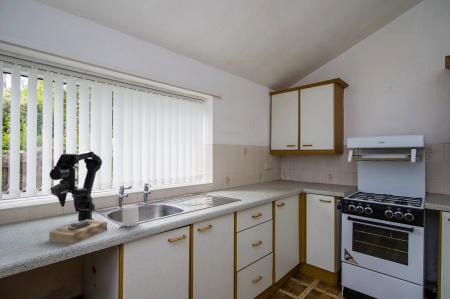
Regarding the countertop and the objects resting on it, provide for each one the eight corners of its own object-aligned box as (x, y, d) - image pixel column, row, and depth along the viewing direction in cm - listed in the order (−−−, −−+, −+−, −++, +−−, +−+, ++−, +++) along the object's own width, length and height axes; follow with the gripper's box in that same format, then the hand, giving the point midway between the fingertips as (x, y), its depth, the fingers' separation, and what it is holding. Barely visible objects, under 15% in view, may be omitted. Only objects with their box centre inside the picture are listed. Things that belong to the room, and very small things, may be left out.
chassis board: (86, 226, 130) (86, 219, 130) (107, 229, 125) (106, 221, 125) (49, 240, 111) (49, 231, 111) (71, 243, 106) (71, 234, 106)
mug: (118, 223, 136) (117, 205, 136) (132, 220, 141) (132, 202, 141) (125, 228, 127) (125, 209, 127) (140, 224, 132) (140, 206, 132)
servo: (85, 230, 123) (85, 217, 123) (91, 231, 122) (91, 218, 122) (67, 237, 114) (67, 223, 114) (73, 238, 112) (73, 224, 112)
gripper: (40, 178, 119) (40, 209, 119) (67, 180, 113) (67, 212, 113) (61, 176, 130) (61, 204, 130) (87, 177, 124) (87, 207, 124)
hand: (69, 207), depth 124 cm, fingers open, 9 cm apart
